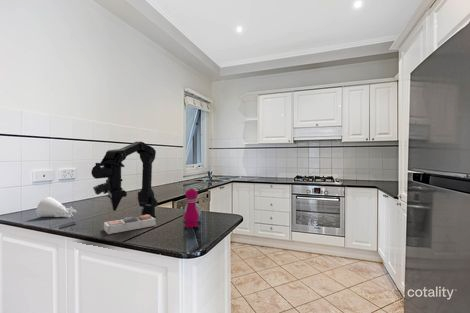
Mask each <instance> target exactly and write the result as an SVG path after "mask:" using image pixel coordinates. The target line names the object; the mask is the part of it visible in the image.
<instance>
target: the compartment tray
mask: <svg viewBox="0 0 470 313" xmlns="http://www.w3.org/2000/svg"><path fill="white" fill-rule="evenodd" d="M135 217H136V216H135ZM136 218H137V221H136V222H130V223H125V222H124V218H123V219H119V220H117V219H116V220H110V221H103V230H104V231H105V233H106V234H108V235H111V234H116V233H117V234H118V233H121V232H128V231H132V230H134V231H135V230H138V229H144V228H149V227H155V226H156V224H157V223H156V222H157V221H156V220H157V219H156V217H151V219H149V220H142V221H141V220H139V216H137V217H136ZM116 221H119V222H121V224H118V225H111V226H109V225H108V223H109V222H116Z"/></svg>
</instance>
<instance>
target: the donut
mask: <svg viewBox="0 0 470 313" xmlns="http://www.w3.org/2000/svg"><path fill="white" fill-rule="evenodd" d="M186 210H187V203H186V204H185V206H184V208H183V213H184V215H185V212H186ZM196 210H197V212H198V215H199V217H200V215H201V212H202V211H201V206H200V205H199V204H198V203H197V202H196Z"/></svg>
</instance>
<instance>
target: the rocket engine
mask: <svg viewBox="0 0 470 313" xmlns="http://www.w3.org/2000/svg"><path fill="white" fill-rule="evenodd" d="M77 212H78V211H77V210H76V209H74V207H73V206H70V207H69V208H68V207H66V206H65V205H63V204H62V203H61V202H60V201H58V200H57V199H55V198H54V197H51V196H48V197H45V198H43V199H42V200H40V202H39V203H38V204H37V206H36V214H37V216H38V217H41V218H50V217H51V218H53V217H55V218H60V217H63V218H67V219H71V217H73V216H74V215H73V213H75V214H76V213H77Z"/></svg>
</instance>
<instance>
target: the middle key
mask: <svg viewBox="0 0 470 313" xmlns="http://www.w3.org/2000/svg"><path fill="white" fill-rule="evenodd" d="M123 219H124V222H125V223H130V222H136V221H137V218H136V216H127V217H123Z"/></svg>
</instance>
